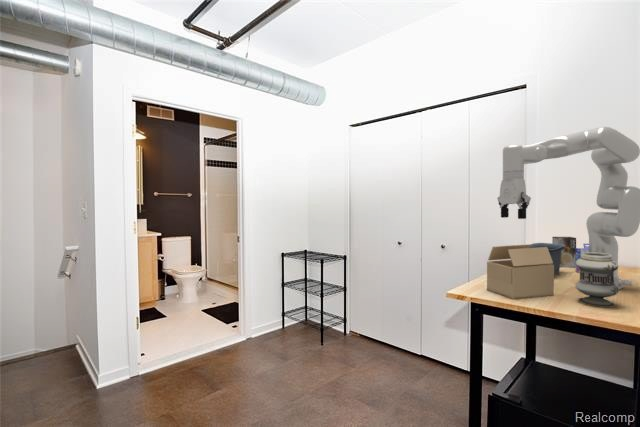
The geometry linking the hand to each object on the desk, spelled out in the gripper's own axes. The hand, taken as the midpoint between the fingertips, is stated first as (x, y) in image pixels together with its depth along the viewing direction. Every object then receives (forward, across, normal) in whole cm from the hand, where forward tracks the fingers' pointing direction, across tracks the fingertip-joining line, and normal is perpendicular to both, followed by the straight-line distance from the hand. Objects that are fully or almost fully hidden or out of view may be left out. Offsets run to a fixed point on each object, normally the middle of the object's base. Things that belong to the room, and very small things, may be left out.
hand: (513, 218), depth 138 cm
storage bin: (+31, -24, +35) cm, 53 cm away
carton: (+30, +3, +1) cm, 30 cm away
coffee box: (+31, -36, +61) cm, 78 cm away
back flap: (+15, -2, 0) cm, 15 cm away
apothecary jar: (+31, +21, +17) cm, 40 cm away
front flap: (+15, +8, +1) cm, 17 cm away
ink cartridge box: (+31, -20, +59) cm, 70 cm away
